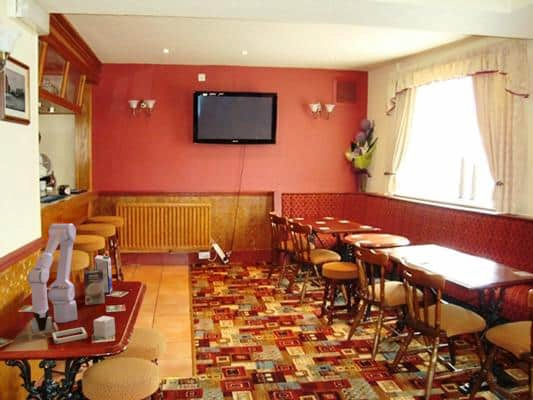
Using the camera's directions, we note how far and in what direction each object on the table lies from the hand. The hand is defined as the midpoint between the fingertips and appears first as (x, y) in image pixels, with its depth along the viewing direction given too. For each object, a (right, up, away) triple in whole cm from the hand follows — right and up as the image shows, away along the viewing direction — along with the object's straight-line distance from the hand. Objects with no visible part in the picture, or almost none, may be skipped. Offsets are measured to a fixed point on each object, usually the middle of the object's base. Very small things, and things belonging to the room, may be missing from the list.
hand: (42, 329), depth 211 cm
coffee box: (+8, +2, +43) cm, 43 cm away
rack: (+1, -2, -1) cm, 3 cm away
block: (0, -1, 0) cm, 1 cm away
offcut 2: (+5, -2, -3) cm, 6 cm away
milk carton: (+7, +4, +60) cm, 60 cm away
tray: (+14, -3, -5) cm, 15 cm away
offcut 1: (+1, -2, -6) cm, 6 cm away
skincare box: (+27, -2, -3) cm, 27 cm away
